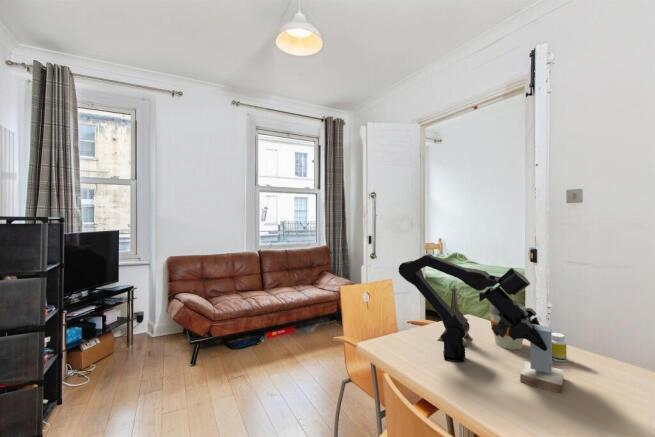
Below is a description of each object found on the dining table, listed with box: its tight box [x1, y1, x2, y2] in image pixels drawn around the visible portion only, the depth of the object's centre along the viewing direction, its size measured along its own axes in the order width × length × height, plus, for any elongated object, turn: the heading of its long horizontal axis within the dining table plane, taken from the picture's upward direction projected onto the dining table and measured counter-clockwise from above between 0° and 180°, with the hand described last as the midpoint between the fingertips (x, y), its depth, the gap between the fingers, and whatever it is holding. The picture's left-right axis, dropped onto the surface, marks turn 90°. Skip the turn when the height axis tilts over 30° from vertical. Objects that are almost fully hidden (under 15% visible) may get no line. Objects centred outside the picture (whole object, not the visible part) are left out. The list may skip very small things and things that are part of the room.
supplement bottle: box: [552, 332, 568, 363], centre depth 105 cm, size 5×5×8 cm
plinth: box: [519, 360, 564, 394], centre depth 91 cm, size 10×10×2 cm
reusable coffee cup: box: [488, 302, 527, 350], centre depth 117 cm, size 13×12×15 cm
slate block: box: [529, 324, 553, 374], centre depth 91 cm, size 5×5×12 cm
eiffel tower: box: [436, 286, 474, 348], centre depth 123 cm, size 11×11×25 cm
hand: (546, 347), depth 91 cm, fingers closed on slate block, 5 cm apart
